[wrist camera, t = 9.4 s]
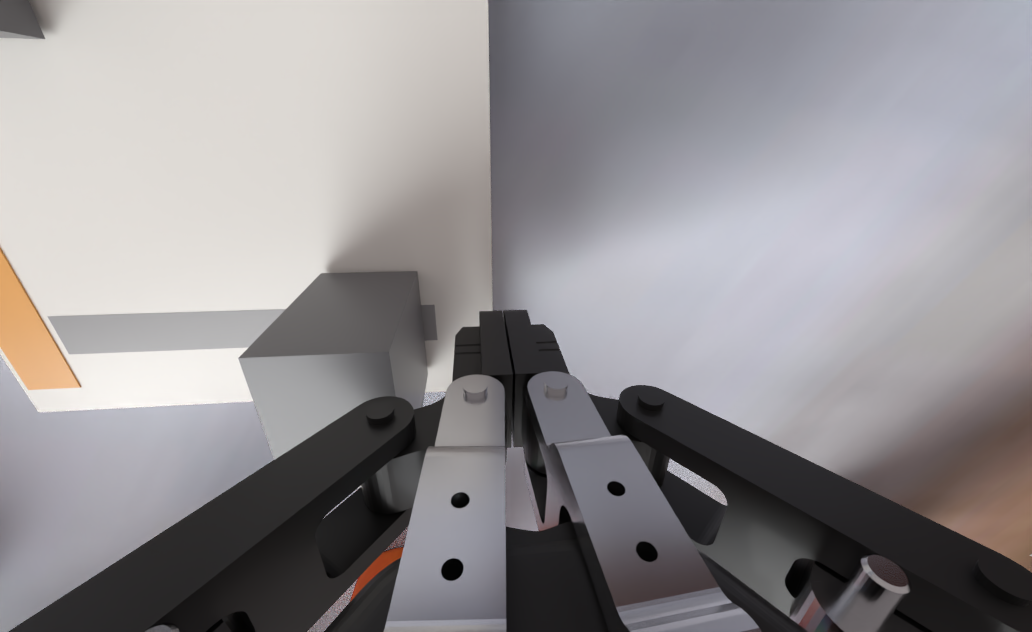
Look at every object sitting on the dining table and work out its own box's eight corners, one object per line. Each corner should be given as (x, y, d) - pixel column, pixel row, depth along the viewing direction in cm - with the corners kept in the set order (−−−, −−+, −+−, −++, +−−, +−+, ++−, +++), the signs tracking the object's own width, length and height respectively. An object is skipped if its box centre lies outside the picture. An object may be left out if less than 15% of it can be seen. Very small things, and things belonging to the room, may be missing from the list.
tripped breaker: (417, 270, 13) (389, 351, 8) (427, 373, 15) (409, 485, 10) (320, 273, 13) (237, 358, 8) (343, 377, 14) (286, 494, 10)
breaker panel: (482, -168, 10) (484, -231, 8) (491, 360, 17) (493, 389, 15) (-258, -230, 9) (-455, -324, 7) (87, 379, 16) (37, 413, 14)
